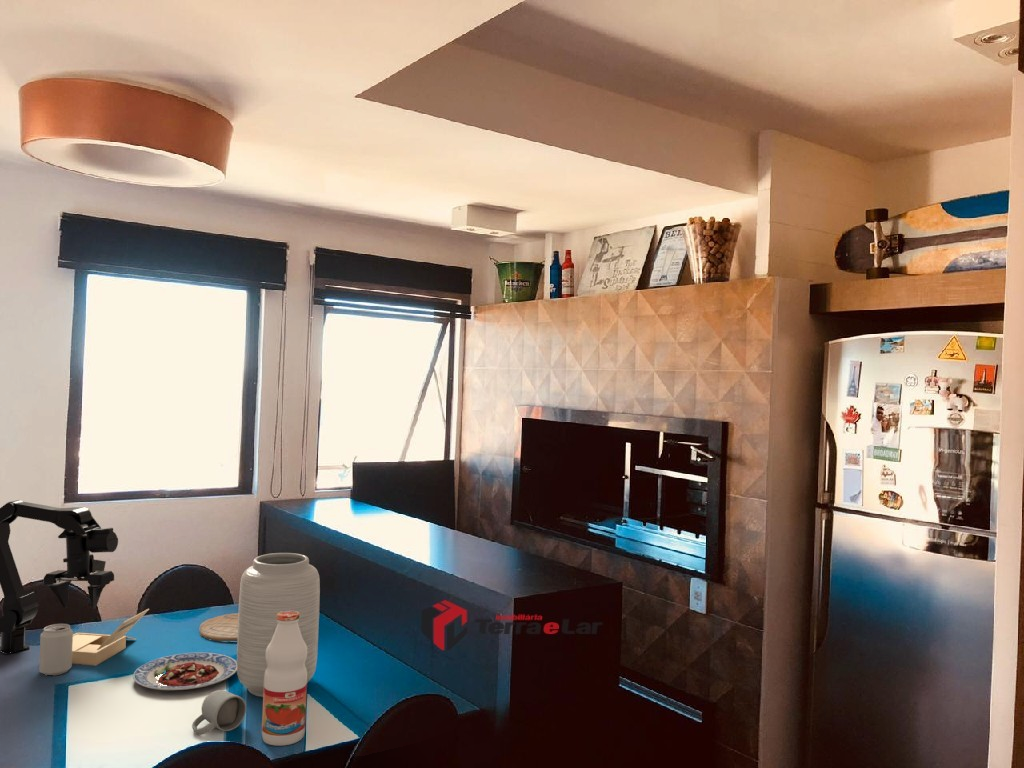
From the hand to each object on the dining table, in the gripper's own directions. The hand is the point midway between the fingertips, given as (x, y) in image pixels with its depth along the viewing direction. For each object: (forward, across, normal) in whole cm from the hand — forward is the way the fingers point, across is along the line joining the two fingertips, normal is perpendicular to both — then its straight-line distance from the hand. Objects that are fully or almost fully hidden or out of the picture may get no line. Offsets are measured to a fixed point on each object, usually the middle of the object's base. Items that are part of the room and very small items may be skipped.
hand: (80, 607), depth 219 cm
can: (+13, -3, +13) cm, 19 cm away
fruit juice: (+19, -78, +30) cm, 86 cm away
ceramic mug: (+18, -61, +30) cm, 70 cm away
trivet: (+16, -30, -33) cm, 48 cm away
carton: (+13, -1, -3) cm, 14 cm away
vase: (+18, -63, +5) cm, 65 cm away
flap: (+10, -9, 0) cm, 13 cm away
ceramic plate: (+16, -37, +6) cm, 41 cm away
